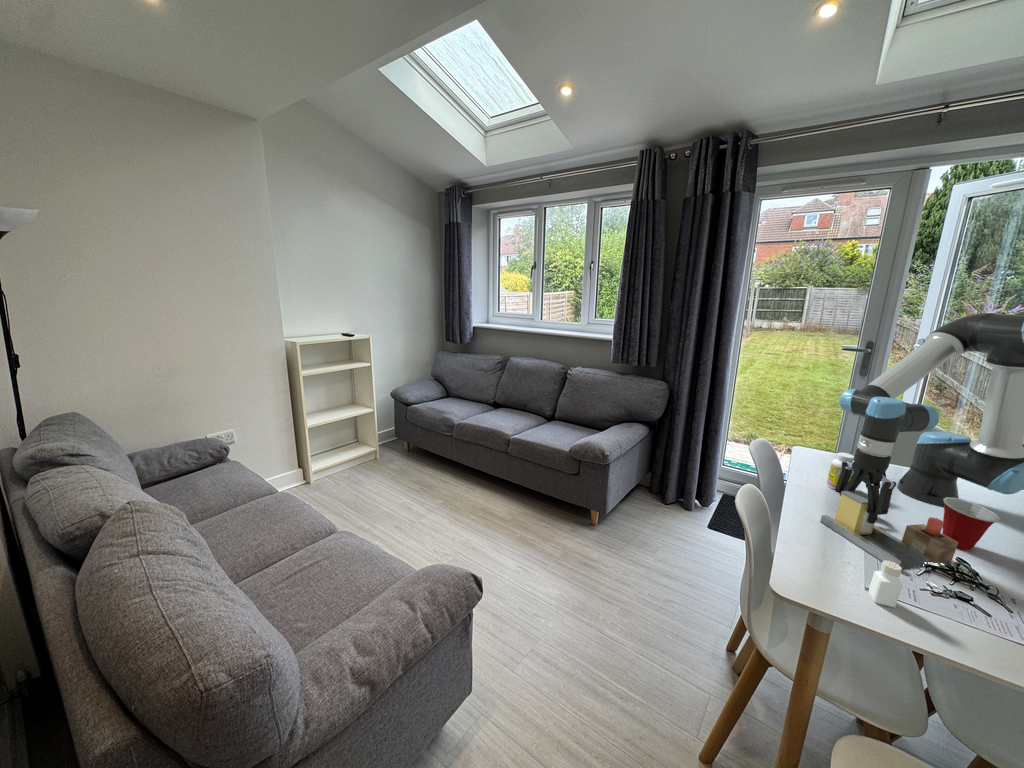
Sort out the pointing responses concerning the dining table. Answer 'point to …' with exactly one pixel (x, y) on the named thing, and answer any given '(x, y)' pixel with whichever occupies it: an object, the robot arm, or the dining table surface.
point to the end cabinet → (930, 543)
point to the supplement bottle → (838, 468)
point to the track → (880, 545)
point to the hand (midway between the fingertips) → (853, 524)
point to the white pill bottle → (886, 584)
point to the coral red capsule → (934, 526)
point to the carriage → (852, 510)
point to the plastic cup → (966, 522)
